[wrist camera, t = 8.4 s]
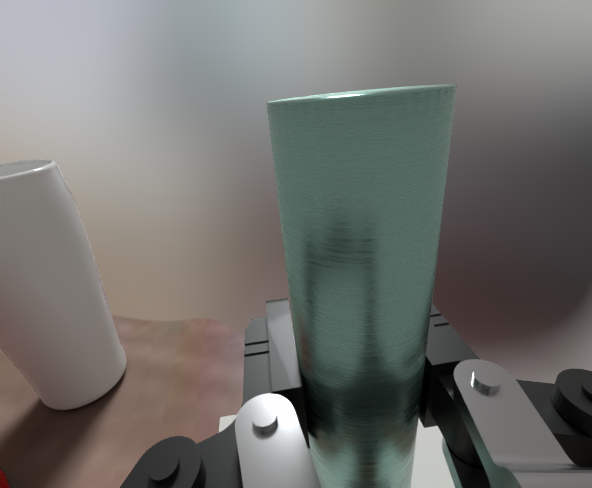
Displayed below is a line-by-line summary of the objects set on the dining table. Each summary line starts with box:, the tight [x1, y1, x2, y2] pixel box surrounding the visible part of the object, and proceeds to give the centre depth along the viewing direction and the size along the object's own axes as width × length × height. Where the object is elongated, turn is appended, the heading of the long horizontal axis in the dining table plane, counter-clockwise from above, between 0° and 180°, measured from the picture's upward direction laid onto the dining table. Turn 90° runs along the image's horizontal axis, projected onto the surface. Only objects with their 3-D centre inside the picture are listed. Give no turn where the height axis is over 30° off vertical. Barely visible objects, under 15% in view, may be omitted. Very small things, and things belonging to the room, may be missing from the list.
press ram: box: [267, 85, 457, 488], centre depth 8 cm, size 4×4×16 cm
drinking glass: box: [0, 159, 127, 410], centre depth 20 cm, size 7×7×15 cm
